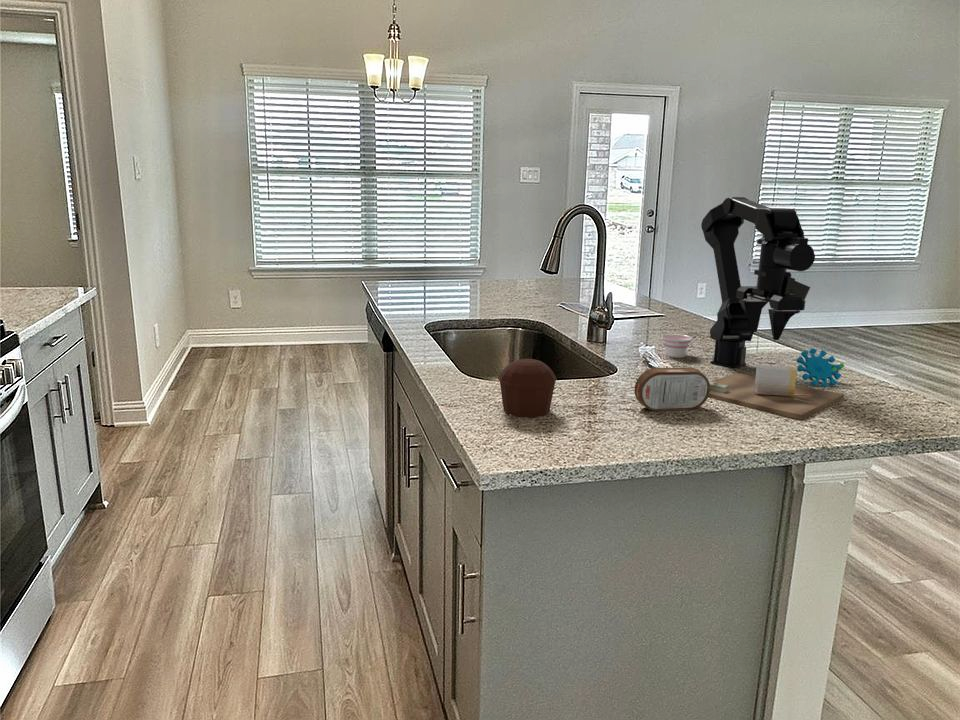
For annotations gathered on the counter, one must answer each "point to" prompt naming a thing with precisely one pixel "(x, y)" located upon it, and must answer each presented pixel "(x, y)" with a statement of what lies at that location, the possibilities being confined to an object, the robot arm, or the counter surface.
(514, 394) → the muffin
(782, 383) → the white box tan top
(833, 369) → the gear
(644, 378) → the tin
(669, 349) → the pink white bowl
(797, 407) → the base
